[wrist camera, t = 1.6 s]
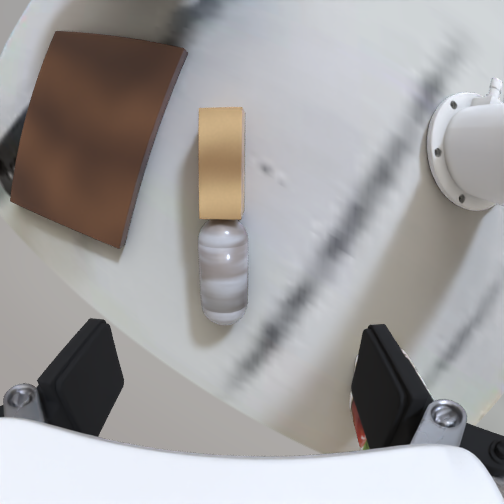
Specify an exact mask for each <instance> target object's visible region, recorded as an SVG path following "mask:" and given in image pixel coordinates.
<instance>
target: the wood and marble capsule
mask: <svg viewBox="0 0 504 504" xmlns="http://www.w3.org/2000/svg"><path fill="white" fill-rule="evenodd" d="M198 160H199V219H210V220H208V221H207V222H206V223H205V224H204V225H203V227H202V228H201V230H200V233H199V236H198V252H199V274H200V293H201V305H202V310H203V312H204V314H205V315H206V317H207V318H208V319H209V320H211V321H212V322H214V323H216V324H219V325H230V324H233V323H235V322H237V321H238V320H240V319H241V318H242V317H243V315H244V314H245V312H246V309H247V304H248V235H247V232H246V229H245V228H244V226H243V225H242V224H241V223H240V222H239V221H238V220H241V218H242V215H243V212H244V181H245V112H244V110H243V108H242V107H220V108H199V139H198Z"/></svg>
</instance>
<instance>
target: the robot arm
mask: <svg viewBox="0 0 504 504" xmlns="http://www.w3.org/2000/svg"><path fill="white" fill-rule="evenodd" d="M502 85H503V82H502V81H501V80H500V79H498V78H494V77H493V78H491V83H490V90H489V94H486V96H482V95H479V94H476V93H471V92H464V93H458V94H455V95H452V96H450V97H448V98H447V99H445V100H443V102H442V103H441V104H440V105H439V106H438V107H437V109H436V110H435V112H434V114H433V116H432V118H431V121H430V124H429V129H428V135H427V153H428V161H429V165H430V168H431V172H432V175H433V177H434V179H435V181H436V184H437V185H438V187H439V188H440V190H441V191H442V193H443V194H444V195H445V196H446V197H447V198H448V199H449V200H450V201H452V202H453V203H454V204H456V205H457V206H460V207H462V208H464V209H468V210H472V211H482V210H485V209H489V208H490V207H492V206H494V205H495V204H499V205H502V206H504V100H503V103H502V102H501V101H500V100H499V97H500V94H501V90H502ZM450 105H451V106H450ZM434 152H435V153H434ZM37 381H38V384H39V385H38V386H37V388H36V387H35V386H33V385H31V384H25V383H23V384H18V385H15V386H13V387H12V388H10V389H9V390H8V391H7V392H6V394H5V395H4V399H3V405H2V406H0V504H504V436H502V435H499V434H496V433H493V432H490V431H487V430H484V429H482V428H479V427H476V426H473V425H471V424H468V423H466V422H467V414H466V411H465V410H464V408H463V407H462V406H461V405H459V404H458V403H456V402H454V401H452V400H447V399H440V400H436V401H434V400H433V398H432V397H431V395H430V393H429V392H428V390H427V388H426V387H425V385H424V383H423V382H422V380H421V378H420V377H419V375H418V373H417V372H416V370H415V369H414V367H413V365H412V364H411V362H410V360H409V359H408V358H407V357H405V355H404V353H403V352H402V350H401V349H400V347H399V345H398V344H397V342H396V341H395V339H394V338H393V336H392V335H391V333H390V331H389V330H388V328H387V327H386V325H385V324H378V325H369V327H368V329H364V331H363V334H362V339H361V344H360V349H359V354H358V359H357V363H356V368H355V372H354V377H353V381H352V386H351V392H352V396H353V399H354V402H355V405H356V408H357V411H358V414H359V417H360V420H361V424H362V427H363V430H364V433H365V436H366V439H367V443H368V446H369V449H368V450H360V451H351V452H341V453H329V454H317V455H299V456H234V455H215V454H202V453H191V452H181V451H174V450H166V449H159V448H153V447H146V446H140V445H135V444H129V443H124V442H119V441H114V440H110V439H105V438H101V437H98V436H99V434H100V431H101V429H102V427H103V425H104V423H105V421H106V419H107V417H108V415H109V413H110V411H111V409H112V407H113V405H114V403H115V402H116V399H117V398H118V396H119V394H120V392H121V389H122V388H123V385H124V378H123V374H122V371H121V367H120V364H119V360H118V356H117V352H116V348H115V345H114V340H113V337H112V332H111V328H110V325H109V324H107V323H106V321H105V320H102V319H92V318H91V319H89V320H88V321H87V322H86V323H85V325H84V326H83V327H82V328H81V329H80V331H78V332H77V334H76V335H75V336H74V337H73V338H72V339H71V340H70V342H69V343H68V344H67V345H66V346H65V347H64V348H63V350H62V351H61V352H60V353H59V354H58V356H57V357H56V358H55V359H54V361H53V362H52V363H51V364H50V365H49V366H48V368H47V369H46V370H45V371H44V372H43V374H42V375H41V376H40V377H39V378H38V380H37Z"/></svg>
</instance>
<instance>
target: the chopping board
mask: <svg viewBox="0 0 504 504" xmlns="http://www.w3.org/2000/svg"><path fill="white" fill-rule="evenodd" d="M187 54H188V52H187V51H186V50H185V49H184V48H180V47H176V46H171V45H166V44H161V43H156V42H151V41H145V40H139V39H133V38H126V37H119V36H111V35H103V34H93V33H82V32H67V31H56V32H55V34H54V36H53V39H52V41H51V43H50V46H49V48H48V51H47V53H46V56H45V59H44V61H43V64H42V67H41V69H40V72H39V75H38V78H37V81H36V84H35V87H34V90H33V94H32V97H31V100H30V104H29V107H28V111H27V115H26V118H25V122H24V126H23V131H22V135H21V139H20V144H19V149H18V154H17V159H16V164H15V170H14V176H13V183H12V190H11V198H10V201H11V202H13V203H15V204H17V205H19V206H21V207H24V208H26V209H28V210H30V211H32V212H35V213H37V214H39V215H41V216H43V217H46V218H48V219H50V220H52V221H55V222H57V223H59V224H61V225H64V226H66V227H68V228H71V229H73V230H75V231H78V232H80V233H82V234H85V235H87V236H89V237H92V238H94V239H96V240H99V241H101V242H104V243H106V244H108V245H111V246H113V247H116V248H118V249H120V248H121V247H122V246H124V245H125V243H126V238H127V234H128V230H129V226H130V222H131V218H132V214H133V210H134V207H135V203H136V199H137V196H138V192H139V188H140V185H141V181H142V178H143V175H144V171H145V168H146V165H147V162H148V158H149V155H150V152H151V149H152V146H153V143H154V140H155V137H156V134H157V131H158V128H159V125H160V123H161V120H162V117H163V114H164V112H165V109H166V106H167V103H168V101H169V98H170V96H171V93H172V90H173V88H174V85H175V83H176V80H177V78H178V76H179V73H180V71H181V68H182V66H183V64H184V61H185V59H186V57H187Z"/></svg>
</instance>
